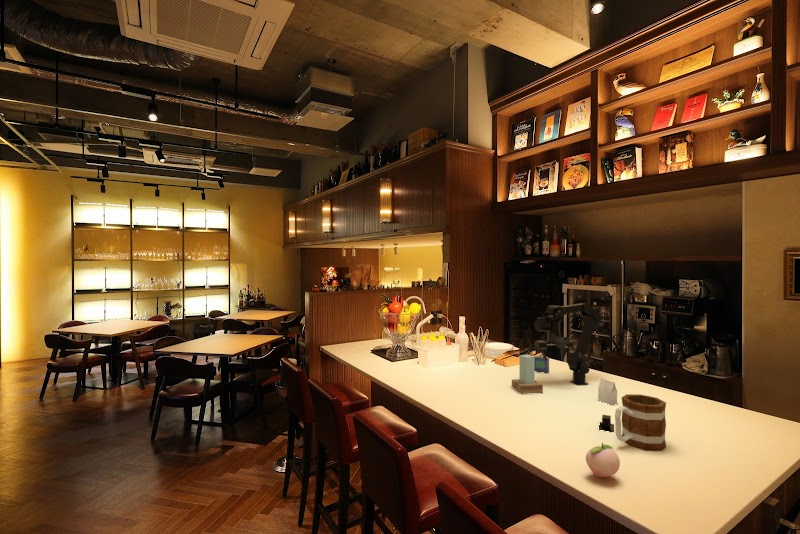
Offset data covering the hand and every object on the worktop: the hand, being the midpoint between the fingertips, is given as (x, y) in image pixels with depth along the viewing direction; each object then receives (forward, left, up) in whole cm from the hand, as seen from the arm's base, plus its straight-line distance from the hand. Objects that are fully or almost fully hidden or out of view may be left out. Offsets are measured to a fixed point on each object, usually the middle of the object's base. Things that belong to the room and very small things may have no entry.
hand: (553, 360), depth 210 cm
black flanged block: (-53, +8, -14) cm, 55 cm away
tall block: (-5, +17, -9) cm, 20 cm away
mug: (-68, +7, -13) cm, 70 cm away
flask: (+27, -7, -13) cm, 31 cm away
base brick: (-5, +17, -13) cm, 22 cm away
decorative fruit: (-87, +33, -13) cm, 94 cm away
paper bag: (-27, -11, -13) cm, 32 cm away
